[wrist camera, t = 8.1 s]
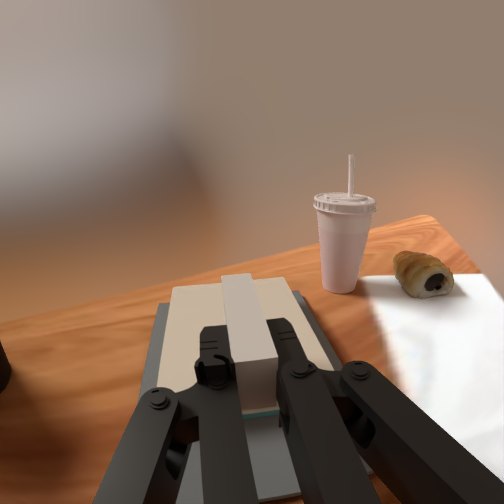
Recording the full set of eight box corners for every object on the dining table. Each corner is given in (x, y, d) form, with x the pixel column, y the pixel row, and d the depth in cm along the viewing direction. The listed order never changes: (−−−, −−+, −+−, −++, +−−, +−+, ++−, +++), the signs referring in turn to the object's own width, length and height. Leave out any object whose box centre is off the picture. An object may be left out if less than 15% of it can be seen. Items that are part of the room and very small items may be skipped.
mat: (129, 503, 9) (125, 500, 9) (160, 308, 28) (159, 303, 27) (392, 465, 11) (396, 460, 11) (298, 295, 29) (298, 290, 29)
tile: (155, 398, 13) (173, 286, 25) (165, 424, 14) (177, 310, 26) (337, 376, 15) (283, 276, 27) (331, 403, 16) (283, 300, 28)
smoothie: (374, 298, 28) (388, 158, 23) (314, 301, 28) (319, 154, 23) (358, 272, 34) (366, 154, 29) (306, 273, 34) (309, 152, 29)
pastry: (380, 266, 36) (383, 238, 34) (421, 264, 35) (426, 238, 34) (409, 302, 27) (417, 269, 25) (456, 298, 27) (464, 267, 25)
